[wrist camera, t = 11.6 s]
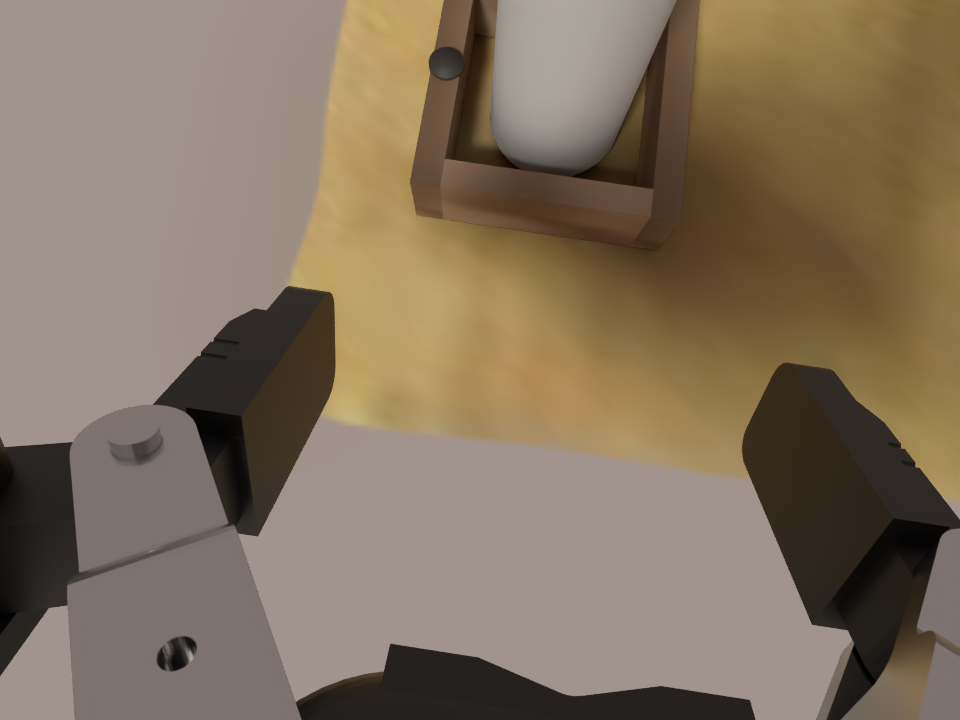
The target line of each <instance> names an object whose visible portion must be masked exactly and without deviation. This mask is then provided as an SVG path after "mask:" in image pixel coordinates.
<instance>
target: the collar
mask: <svg viewBox="0 0 960 720" xmlns="http://www.w3.org/2000/svg"><path fill="white" fill-rule="evenodd" d="M699 1H700V0H677V1H676V3H675V5H674V7H673V10H672V12H671V14H670V16H669V19H668V21H667V23H666V25H665V28H664V30H663V32H662V35H661V37H660V39H659V41H658V44H657V46H656V48H655V50H654V53H653V55H652V57H651V59H650V62H649V64H648V73H647V83H646V93H645V103H644V113H643V122H642V132H641V142H640V152H639V162H638V172H637V181H636V187H635V186H628V185H621V184H615V183H608V182H601V181H594V180H587V179H580V178H573V177H567V176H560V175H553V174H546V173H539V172H532V171H525V170H519V169H512V168H505V167H498V166H491V165H484V164H477V163H471V162H464V161H457V160H453V159H454V154H455V148H456V142H457V136H458V130H459V125H460V119H461V113H462V107H463V101H464V95H465V90H466V84H467V78H468V72H469V66H470V61H471V55H472V49H473V43H474V37H475V34H476V35H483V36H490V37H496V21H497V5H498V0H444V3H443V8H442V14H441V19H440V24H439V30H438V35H437V40H436V46H435V51H434V52H433V53H432V54H431V56H430V58H429V69H430V72H431V73H430V78H429V83H428V89H427V94H426V99H425V105H424V110H423V115H422V121H421V126H420V131H419V137H418V142H417V147H416V153H415V158H414V164H413V169H412V174H411V180H410V184H411V189H412V194H413V199H414V204H415V209H416V214H417V215H419V216H426V217H432V218H439V219H446V220H453V221H460V222H466V223H473V224H480V225H487V226H494V227H501V228H507V229H514V230H521V231H528V232H535V233H541V234H548V235H555V236H562V237H569V238H576V239H582V240H589V241H596V242H603V243H610V244H616V245H623V246H630V247H637V248H644V249H650V250H657V249H658V248H659V247H660V246H661V245H662V243H663V242H664V241H665V240H666V239H667V237H668V236H669V235H670V234H671V233H672V231H673V230H674V229H675V228H676V227H677V225H678V224H679V223H680V222H681V215H682V203H683V191H684V179H685V167H686V155H687V143H688V132H689V120H690V108H691V96H692V84H693V72H694V60H695V48H696V36H697V24H698V12H699Z"/></svg>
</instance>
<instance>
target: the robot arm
mask: <svg viewBox="0 0 960 720" xmlns="http://www.w3.org/2000/svg"><path fill="white" fill-rule="evenodd" d="M334 377H335V313H334V299H333V296H332V294H331V293H330V292H325V291H318V290H312V289H305V288H298V287H292V286H288V287H286V288H285V289H284V290H283V292H282V293H281V294H280V295H279V296H278V298H277V299H276V300H275V301H274V302H273V304H272V305H271V306H270V307H269V308H268V309H267V310H260V309H253V310H251V311H249V312H247V313H245V314H243V315H241V316H239V317H237V318H235V319H233V320H231V321H230V322H229V323H227V325H226V326H225V327H224V328H223V329H222V330H221V331H220V332H219V333H218V335H216V337H215V338H214V341H213V342H210V343H209V344H208V345H207V346H206V348H204V350H203V351H202V352H201V356H197V357H196V358H195V359H194V360H193V361H192V363H191V364H190V365H189V366H188V367H187V368H186V369H185V370H184V371H183V372H182V374H181V375H180V376H179V377H178V378H177V379H176V380H175V381H174V382H173V383H172V384H171V385H170V386H169V388H168V389H167V390H166V391H165V392H164V393H163V394H162V395H161V396H160V397H159V399H157V401H156V402H155V403H154V404H153V405H142V406H135V407H129V408H125V409H122V410H118V411H116V412H113V413H110V414H107V415H105V416H103V417H101V418H99V419H97V420H96V421H94V422H93V423H91V424H90V425H89V426H87V427H86V428H84V429H83V430H82V431H81V432H80V433H79V434H78V436H77V437H76V438H75V440H74V442H69V443H56V444H45V445H44V444H43V445H29V446H16V447H4V445H3V442H2V440H1V438H0V675H1V674H2V673H3V671H4V670H5V669H6V667H7V666H8V664H9V663H10V662H11V660H12V659H13V657H14V656H15V655H16V653H17V652H18V650H19V649H20V648H21V646H22V645H23V643H24V642H25V641H26V639H27V638H28V636H29V635H30V634H31V632H32V631H33V629H34V628H35V626H36V625H37V624H38V622H39V621H40V620H41V618H42V617H43V615H44V614H45V613H46V611H47V610H48V608H51V607H59V606H66V605H68V618H69V632H70V633H69V634H70V650H71V665H72V679H73V680H72V681H73V697H74V714H75V720H755V717H754V713H753V710H752V706H751V703H750V700H746V699H740V698H733V697H727V696H721V695H714V694H708V693H701V692H695V691H688V690H682V689H676V688H670V687H663V686H659V687H650V688H642V689H635V690H627V691H619V692H610V693H602V694H594V695H586V696H569V695H565V694H562V693H559V692H557V691H555V690H552V689H550V688H548V687H545V686H543V685H541V684H538V683H536V682H534V681H531V680H529V679H527V678H525V677H522V676H520V675H517V674H515V673H513V672H511V671H508V670H506V669H503V668H501V667H499V666H497V665H494V664H492V663H490V662H487V661H485V660H483V659H480V658H477V657H471V656H465V655H459V654H452V653H446V652H439V651H433V650H427V649H420V648H414V647H407V646H401V645H395V644H390V647H389V652H388V656H387V661H386V665H385V669H384V672H377V673H369V674H364V675H360V676H356V677H352V678H348V679H344V680H341V681H339V682H336V683H334V684H331V685H328V686H326V687H323V688H321V689H319V690H317V691H315V692H313V693H311V694H309V695H307V696H306V697H304V698H302V699H300V700H298V701H297V702H295V699H294V696H293V693H292V690H291V687H290V685H289V682H288V679H287V676H286V673H285V670H284V667H283V664H282V661H281V658H280V655H279V652H278V650H277V646H276V644H275V641H274V638H273V635H272V632H271V629H270V626H269V623H268V620H267V617H266V614H265V611H264V608H263V605H262V603H261V600H260V597H259V594H258V591H257V588H256V585H255V582H254V579H253V576H252V573H251V571H250V567H249V564H248V562H247V559H246V556H245V553H244V550H243V547H242V544H241V541H240V539H239V535H238V533H240V534H246V535H252V536H258V535H259V533H260V531H261V529H262V527H263V525H264V523H265V522H266V520H267V518H268V515H269V513H270V512H271V509H272V508H273V506H274V504H275V502H276V500H277V498H278V496H279V494H280V492H281V490H282V488H283V486H284V484H285V482H286V481H287V479H288V477H289V475H290V473H291V471H292V469H293V467H294V465H295V463H296V461H297V459H298V457H299V455H300V453H301V451H302V449H303V447H304V445H305V444H306V442H307V440H308V438H309V436H310V434H311V432H312V430H313V428H314V426H315V424H316V422H317V420H318V418H319V416H320V414H321V412H322V410H323V408H324V406H325V404H326V403H327V401H328V399H329V396H330V394H331V390H332V387H333V382H334ZM742 454H743V460H744V464H745V466H746V469H747V471H748V473H749V476H750V478H751V480H752V483H753V485H754V487H755V490H756V492H757V495H758V497H759V500H760V502H761V504H762V507H763V509H764V511H765V514H766V516H767V518H768V521H769V523H770V526H771V528H772V530H773V533H774V535H775V537H776V540H777V542H778V544H779V547H780V549H781V552H782V554H783V556H784V559H785V561H786V564H787V566H788V569H789V571H790V573H791V576H792V578H793V580H794V583H795V585H796V588H797V590H798V592H799V595H800V597H801V599H802V602H803V604H804V607H805V609H806V611H807V614H808V616H809V619H810V621H811V623H812V625H818V626H825V627H830V628H837V629H844V630H848V631H849V634H850V636H851V638H852V641H851V642H850V643H849V645H848V646H847V647H846V648H845V650H843V652H842V654H841V656H840V658H839V661H838V664H837V666H836V669H835V672H834V674H833V677H832V680H831V682H830V685H829V687H828V690H827V693H826V695H825V698H824V701H823V703H822V706H821V708H820V711H819V714H818V716H817V719H816V720H960V520H959V518H958V517H957V516H956V514H955V513H954V512H953V511H952V509H951V508H950V507H949V505H948V504H947V503H946V501H945V500H944V499H943V498H942V496H941V495H940V494H939V492H938V491H937V490H936V489H935V487H934V486H933V485H932V483H931V482H930V481H929V480H928V478H927V477H926V476H925V474H924V473H923V472H922V471H921V469H920V468H916V467H915V464H916V463H915V462H914V460H913V459H912V458H911V456H910V455H909V454H908V453H907V451H906V450H905V449H901V444H900V442H899V441H898V440H897V438H896V437H895V436H894V435H893V433H892V432H891V431H890V429H889V428H888V427H887V426H886V424H885V423H884V422H883V421H882V420H880V419H879V418H878V417H877V416H875V415H874V414H873V413H871V412H870V411H869V410H868V409H866V408H865V407H864V406H862V405H861V404H860V403H859V402H857V401H856V400H855V399H854V397H853V396H852V395H851V393H850V392H849V391H848V389H847V388H846V387H845V385H844V384H843V383H842V381H841V380H840V379H839V377H838V376H837V375H836V374H835V372H834V371H832V370H830V369H825V368H818V367H812V366H805V365H799V364H792V363H784V364H782V365H780V366H779V367H778V368H777V369H776V371H775V372H774V374H773V376H772V378H771V380H770V382H769V384H768V386H767V388H766V390H765V392H764V394H763V396H762V398H761V400H760V402H759V404H758V406H757V408H756V410H755V412H754V414H753V416H752V418H751V420H750V422H749V424H748V426H747V428H746V431H745V434H744V438H743V445H742Z"/></svg>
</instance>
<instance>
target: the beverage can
mask: <svg viewBox="0 0 960 720" xmlns="http://www.w3.org/2000/svg"><path fill="white" fill-rule="evenodd" d="M676 1H677V0H498V5H497V21H496V37H495V52H494V68H493V83H492V99H491V115H490V120H491V127H492V134H493V136H494V138H495V141H496V143H497V145H498V147H499V149H500V150H501V152H502V153H503V154H504V155H505V156H506V158H507V159H508V160H509V161H510V162H511V163H513V164H514V165H515V166H517V167H518V168H520V169H521V170H525V171H532V172H539V173H546V174H553V175H560V176H567V177H570V176H573V175H576V174H578V173H581V172H583V171H586V170H588V169H589V168H591V167H592V166H594V165H595V164H597V163H599V162H600V161H601V160H602V159H603V158H604V157H605V156H606V155H607V154H608V152H609V151H610V150H611V148H612V146H613V144H614V141H615V139H616V137H617V134H618V132H619V130H620V128H621V125H622V123H623V121H624V119H625V116H626V114H627V112H628V109H629V107H630V105H631V103H632V100H633V98H634V96H635V94H636V91H637V89H638V87H639V84H640V82H641V80H642V78H643V75H644V73H645V71H646V69H647V66H648V64H649V62H650V59H651V57H652V55H653V53H654V50H655V48H656V46H657V44H658V41H659V39H660V37H661V35H662V32H663V30H664V28H665V25H666V23H667V21H668V19H669V16H670V14H671V12H672V10H673V7H674V5H675V3H676Z"/></svg>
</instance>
